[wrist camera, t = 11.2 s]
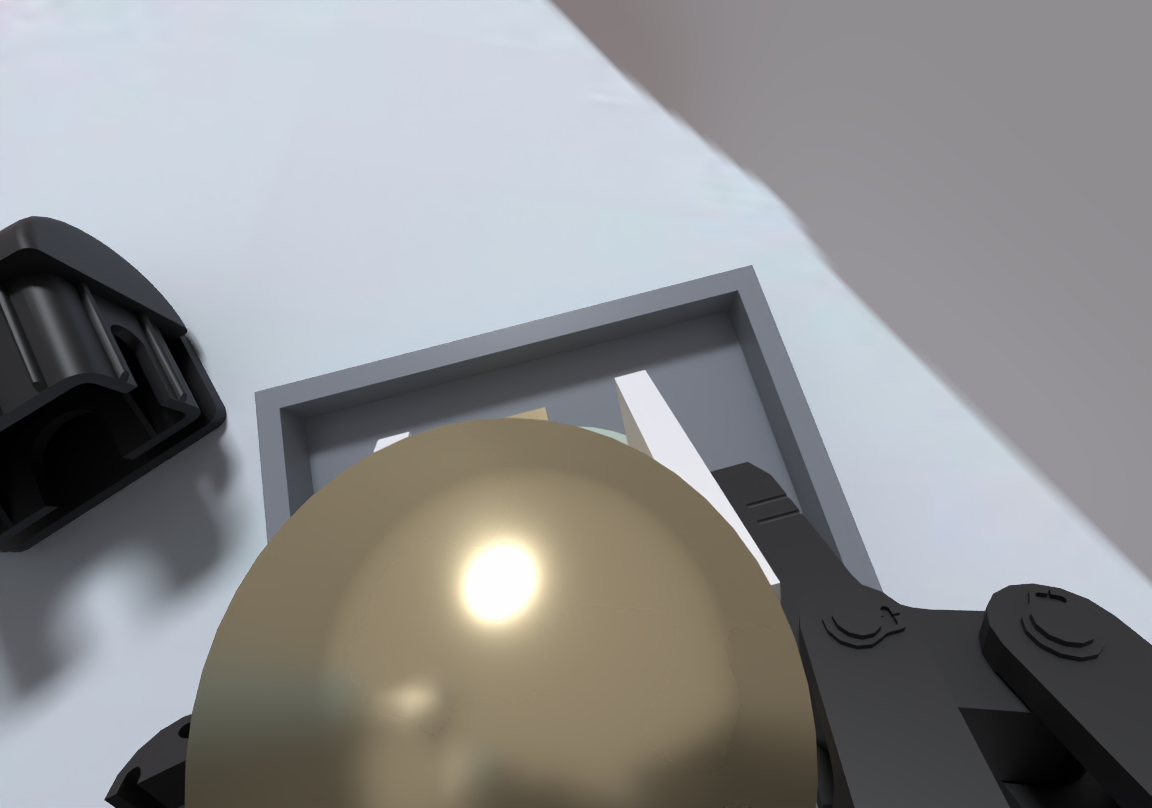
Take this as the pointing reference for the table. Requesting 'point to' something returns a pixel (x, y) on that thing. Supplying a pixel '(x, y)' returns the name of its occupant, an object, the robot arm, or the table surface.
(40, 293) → the end cap
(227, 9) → the table surface
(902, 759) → the robot arm
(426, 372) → the carrier tray
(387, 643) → the toothed flange peg
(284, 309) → the table surface
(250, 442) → the table surface
